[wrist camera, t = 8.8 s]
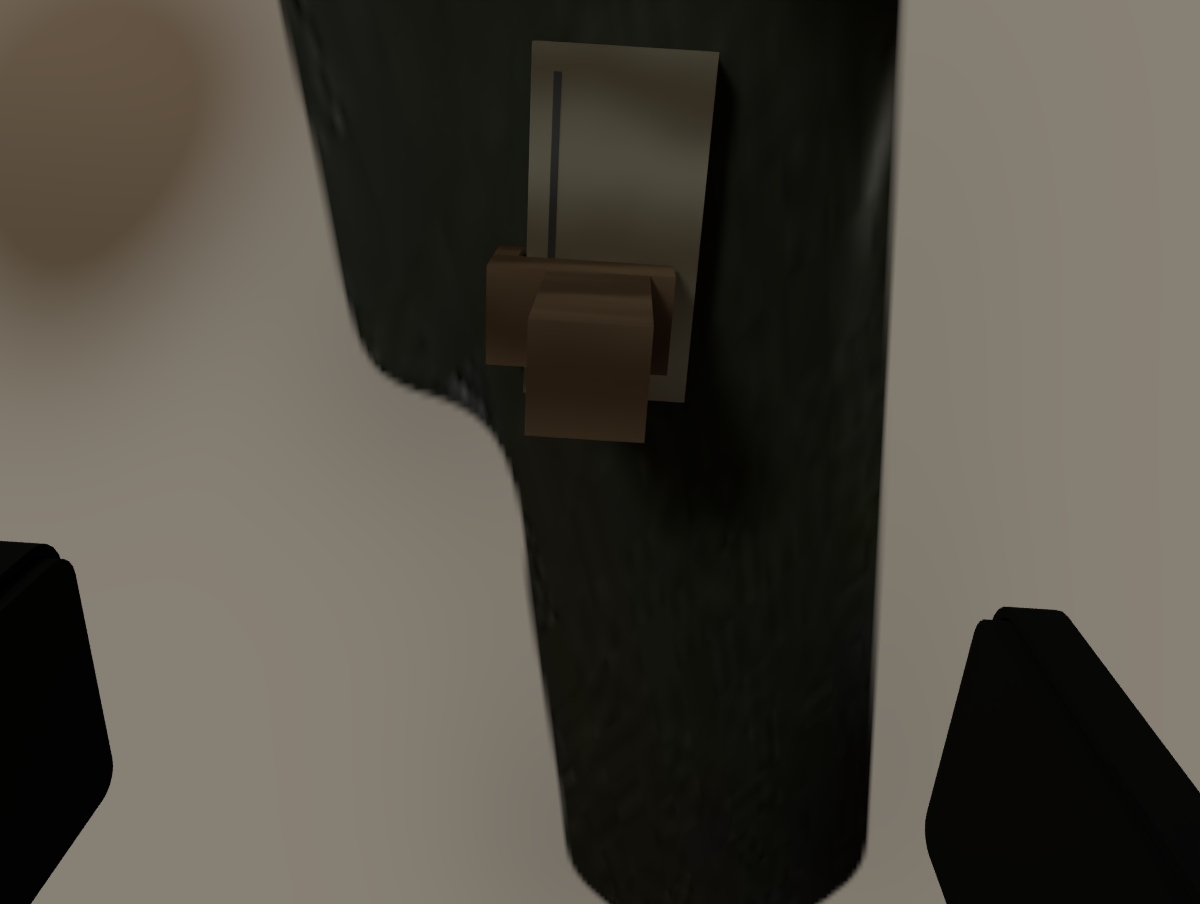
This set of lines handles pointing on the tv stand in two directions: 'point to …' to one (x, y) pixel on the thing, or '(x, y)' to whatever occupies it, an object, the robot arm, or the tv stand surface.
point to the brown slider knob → (580, 340)
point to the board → (623, 167)
